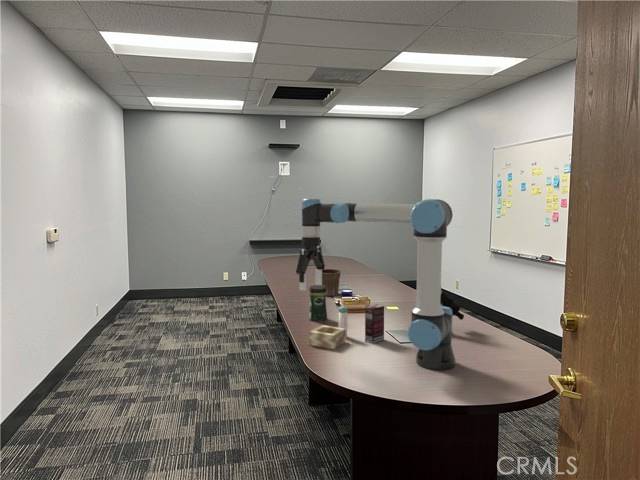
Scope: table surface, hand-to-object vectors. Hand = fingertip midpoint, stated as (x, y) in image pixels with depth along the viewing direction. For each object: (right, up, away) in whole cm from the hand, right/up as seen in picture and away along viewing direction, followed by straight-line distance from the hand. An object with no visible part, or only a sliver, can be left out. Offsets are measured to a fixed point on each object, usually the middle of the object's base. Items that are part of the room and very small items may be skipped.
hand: (311, 287), depth 193 cm
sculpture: (+64, -25, +36) cm, 77 cm away
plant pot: (+10, -17, +119) cm, 121 cm away
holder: (+7, -27, +16) cm, 32 cm away
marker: (+14, -26, +26) cm, 39 cm away
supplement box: (+29, -27, +21) cm, 44 cm away
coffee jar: (+3, -23, +57) cm, 61 cm away
